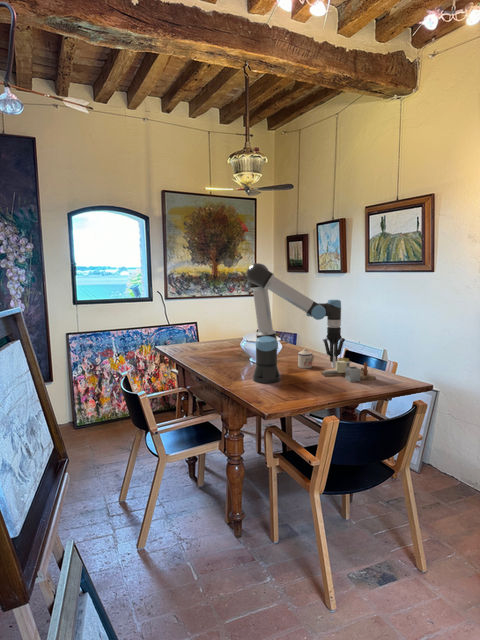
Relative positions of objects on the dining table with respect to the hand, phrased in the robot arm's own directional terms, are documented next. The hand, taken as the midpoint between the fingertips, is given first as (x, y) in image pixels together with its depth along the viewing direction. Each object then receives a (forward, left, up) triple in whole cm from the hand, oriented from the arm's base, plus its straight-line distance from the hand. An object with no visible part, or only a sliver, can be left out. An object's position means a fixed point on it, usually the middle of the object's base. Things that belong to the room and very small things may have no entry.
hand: (333, 367), depth 224 cm
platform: (+13, +14, -5) cm, 20 cm away
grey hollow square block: (+6, -13, -5) cm, 15 cm away
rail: (+6, 0, -5) cm, 8 cm away
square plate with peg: (+15, -10, -5) cm, 18 cm away
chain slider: (+1, 0, -3) cm, 3 cm away
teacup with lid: (-8, +22, -5) cm, 24 cm away
